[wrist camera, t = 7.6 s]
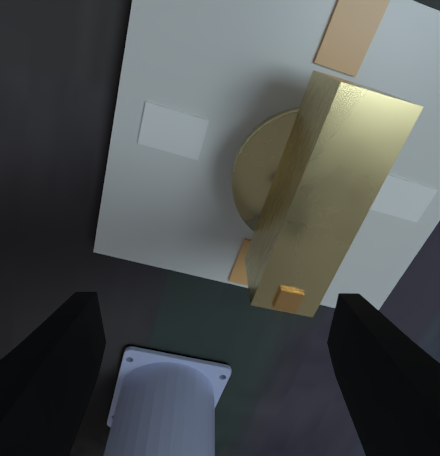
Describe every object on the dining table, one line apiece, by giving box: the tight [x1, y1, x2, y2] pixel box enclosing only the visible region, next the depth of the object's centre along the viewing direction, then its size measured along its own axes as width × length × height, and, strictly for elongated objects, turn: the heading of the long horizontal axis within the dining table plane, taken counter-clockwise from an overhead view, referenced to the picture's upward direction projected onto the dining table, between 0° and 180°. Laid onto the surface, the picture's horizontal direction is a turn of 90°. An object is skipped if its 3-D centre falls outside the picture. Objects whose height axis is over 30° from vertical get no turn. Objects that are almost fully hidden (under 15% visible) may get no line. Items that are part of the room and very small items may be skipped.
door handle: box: [231, 70, 423, 317], centre depth 15 cm, size 6×9×4 cm
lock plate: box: [93, 0, 440, 310], centre depth 18 cm, size 16×18×2 cm
